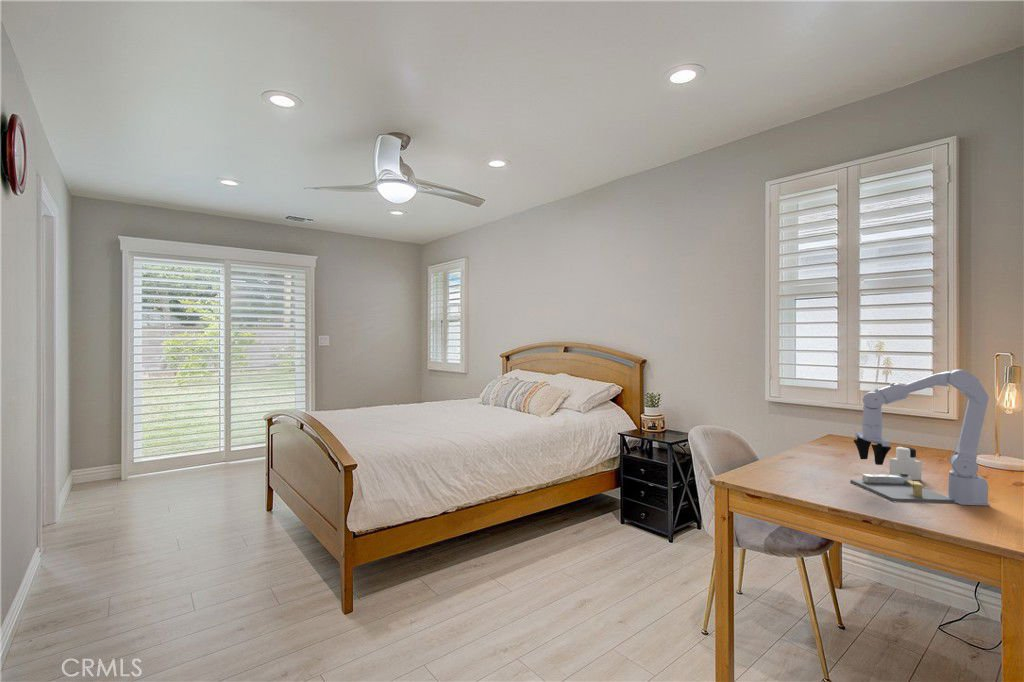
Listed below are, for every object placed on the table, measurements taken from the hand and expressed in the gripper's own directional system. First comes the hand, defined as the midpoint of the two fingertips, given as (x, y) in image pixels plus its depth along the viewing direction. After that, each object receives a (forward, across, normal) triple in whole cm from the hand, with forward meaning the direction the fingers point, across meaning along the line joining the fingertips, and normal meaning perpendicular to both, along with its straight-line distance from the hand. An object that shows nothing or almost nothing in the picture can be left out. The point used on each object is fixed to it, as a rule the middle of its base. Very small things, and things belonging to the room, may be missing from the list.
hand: (871, 461), depth 177 cm
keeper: (+8, +12, +7) cm, 16 cm away
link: (+8, -1, +7) cm, 10 cm away
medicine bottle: (+9, -12, +22) cm, 27 cm away
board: (+9, +6, +6) cm, 12 cm away
